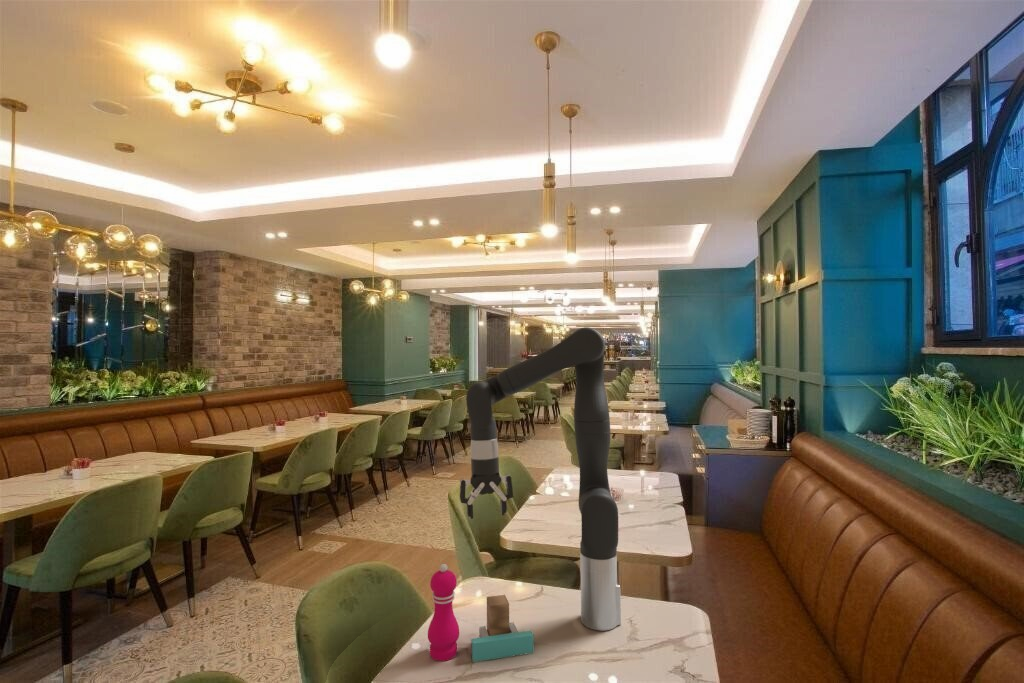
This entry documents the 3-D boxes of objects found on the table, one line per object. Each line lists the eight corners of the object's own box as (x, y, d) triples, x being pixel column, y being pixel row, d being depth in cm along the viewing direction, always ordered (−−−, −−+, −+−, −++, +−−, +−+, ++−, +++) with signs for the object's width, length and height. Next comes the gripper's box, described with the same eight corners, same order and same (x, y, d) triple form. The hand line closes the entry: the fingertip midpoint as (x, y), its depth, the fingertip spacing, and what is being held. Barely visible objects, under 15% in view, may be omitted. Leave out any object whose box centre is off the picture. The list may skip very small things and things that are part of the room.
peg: (505, 636, 119) (504, 594, 119) (509, 647, 115) (509, 603, 115) (486, 639, 118) (486, 596, 118) (490, 650, 114) (490, 605, 114)
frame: (513, 634, 119) (513, 622, 120) (519, 648, 114) (519, 635, 114) (479, 639, 118) (479, 626, 118) (483, 654, 112) (483, 640, 112)
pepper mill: (453, 664, 108) (453, 572, 109) (422, 660, 110) (422, 569, 111) (463, 645, 115) (463, 559, 116) (434, 642, 117) (434, 556, 118)
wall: (531, 648, 114) (531, 630, 114) (533, 653, 112) (533, 635, 112) (471, 656, 111) (471, 638, 111) (472, 662, 109) (472, 643, 109)
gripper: (459, 460, 128) (462, 523, 127) (513, 455, 131) (516, 517, 130) (457, 455, 135) (459, 515, 135) (507, 451, 138) (510, 509, 138)
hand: (487, 516), depth 132 cm, fingers open, 8 cm apart
